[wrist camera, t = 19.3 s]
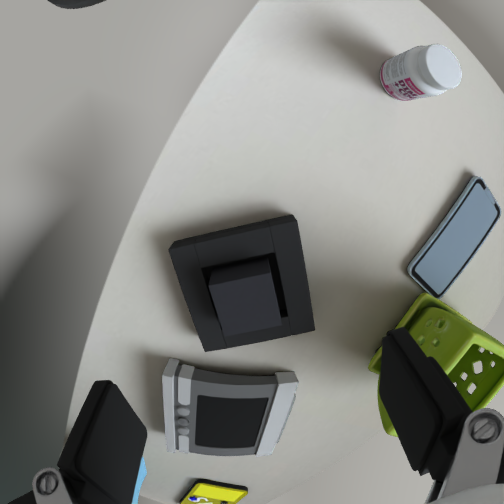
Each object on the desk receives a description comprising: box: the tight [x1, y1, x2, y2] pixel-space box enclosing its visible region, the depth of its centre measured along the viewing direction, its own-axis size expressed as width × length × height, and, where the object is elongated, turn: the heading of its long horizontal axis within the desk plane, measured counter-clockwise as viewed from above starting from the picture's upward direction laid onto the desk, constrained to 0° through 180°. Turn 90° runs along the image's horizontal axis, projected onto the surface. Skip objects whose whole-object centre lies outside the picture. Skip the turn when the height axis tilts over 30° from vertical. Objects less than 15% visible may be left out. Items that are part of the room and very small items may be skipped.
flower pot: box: [368, 293, 504, 437], centre depth 29 cm, size 14×14×13 cm
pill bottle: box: [380, 44, 462, 101], centre depth 21 cm, size 5×5×8 cm
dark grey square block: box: [208, 256, 282, 336], centre depth 29 cm, size 6×6×4 cm
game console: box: [180, 479, 248, 504], centre depth 48 cm, size 18×11×2 cm, turn 158°
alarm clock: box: [162, 358, 299, 457], centre depth 36 cm, size 17×5×16 cm
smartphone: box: [408, 176, 501, 299], centre depth 30 cm, size 7×1×15 cm
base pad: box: [169, 215, 315, 352], centre depth 30 cm, size 12×12×2 cm
